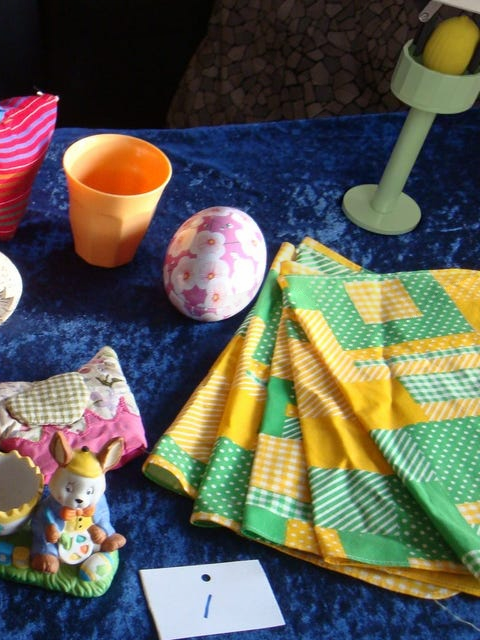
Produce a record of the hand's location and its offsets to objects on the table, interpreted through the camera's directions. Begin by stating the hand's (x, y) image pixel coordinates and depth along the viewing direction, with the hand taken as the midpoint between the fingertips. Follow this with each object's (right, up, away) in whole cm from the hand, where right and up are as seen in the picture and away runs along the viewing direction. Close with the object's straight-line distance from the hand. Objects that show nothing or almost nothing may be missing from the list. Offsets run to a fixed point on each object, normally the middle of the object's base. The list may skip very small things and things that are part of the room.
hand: (446, 58), depth 97 cm
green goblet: (0, -15, +17) cm, 22 cm away
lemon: (0, -2, +2) cm, 3 cm away
